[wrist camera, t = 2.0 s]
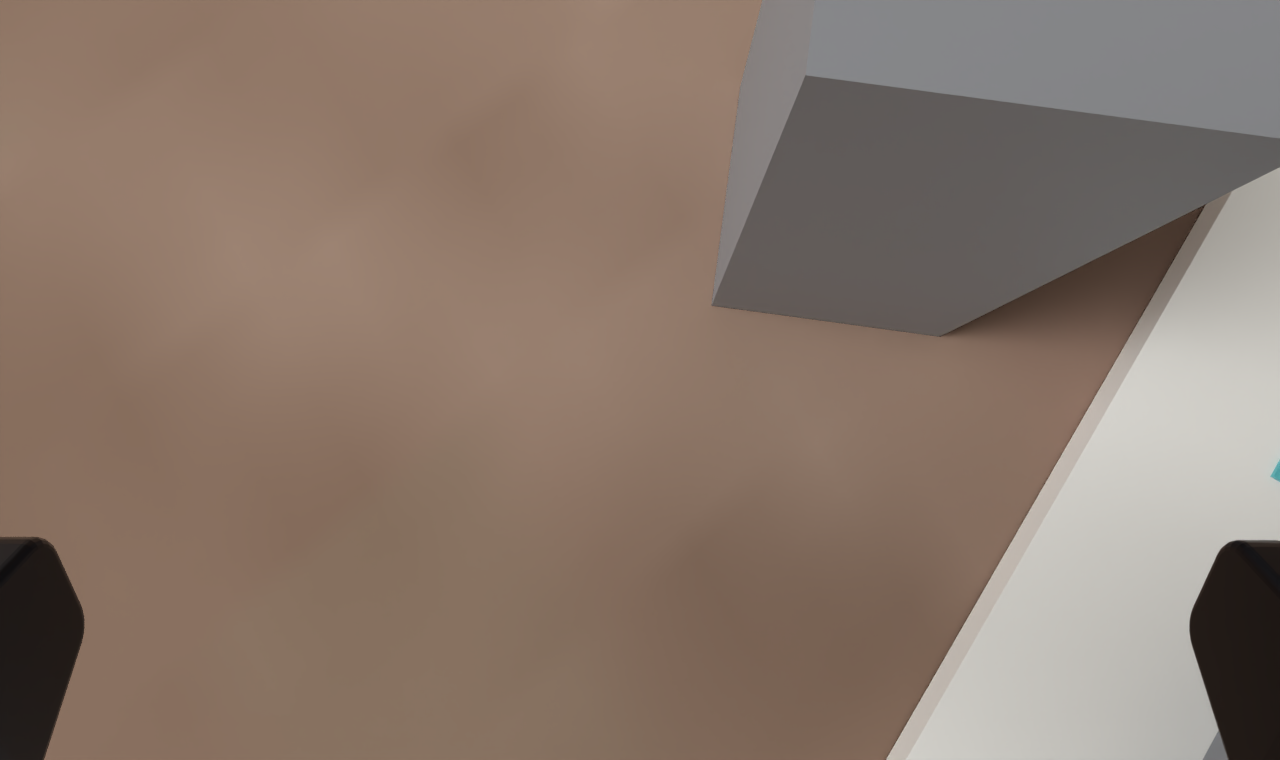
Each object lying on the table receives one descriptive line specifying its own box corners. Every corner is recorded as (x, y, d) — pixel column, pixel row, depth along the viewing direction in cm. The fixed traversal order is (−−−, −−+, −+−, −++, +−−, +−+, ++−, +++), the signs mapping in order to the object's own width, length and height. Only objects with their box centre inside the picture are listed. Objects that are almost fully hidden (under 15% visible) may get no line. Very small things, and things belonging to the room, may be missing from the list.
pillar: (939, 336, 22) (1326, 144, 10) (711, 305, 22) (805, 74, 10) (963, 115, 23) (1358, -335, 10) (740, 85, 23) (865, -397, 10)
